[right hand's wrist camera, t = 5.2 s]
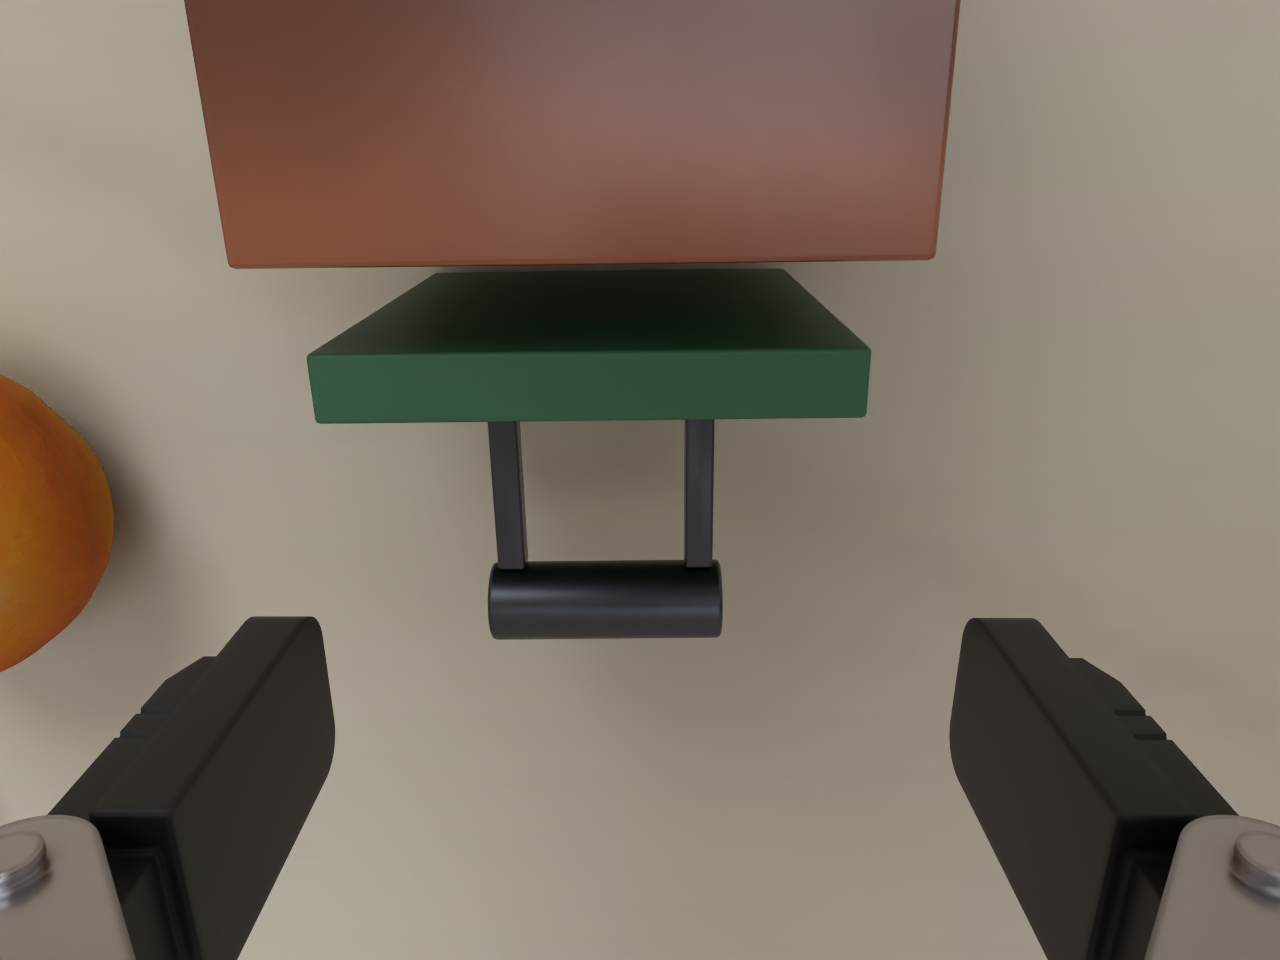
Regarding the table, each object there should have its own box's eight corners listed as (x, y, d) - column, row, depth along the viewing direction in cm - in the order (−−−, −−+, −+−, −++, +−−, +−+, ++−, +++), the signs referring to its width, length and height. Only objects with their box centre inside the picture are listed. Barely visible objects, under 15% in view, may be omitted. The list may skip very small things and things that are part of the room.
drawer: (773, 525, 27) (842, 730, 17) (457, 529, 27) (358, 734, 17) (816, -489, 19) (985, -1101, 9) (366, -480, 19) (97, -1083, 10)
